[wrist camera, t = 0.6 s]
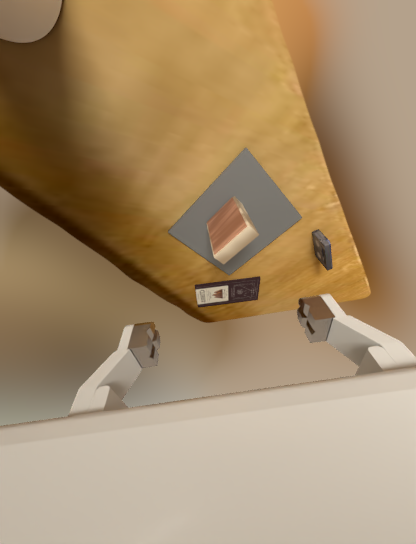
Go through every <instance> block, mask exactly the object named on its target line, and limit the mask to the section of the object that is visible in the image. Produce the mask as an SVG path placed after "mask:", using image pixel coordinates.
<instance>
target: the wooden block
mask: <svg viewBox="0 0 416 544" xmlns="http://www.w3.org/2000/svg"><path fill="white" fill-rule="evenodd" d="M206 224H207V229H208V233H209V238H210V242H211V247H212V251H213V256H214V258H215V259H217V260H218V261H219V262H221V263H222V264H225V263H226V262H227V261H229V260H230V259H231V258H232V257H233V256H235V255H236V254H237V253H238V252H239V251H241V250H242V249H243V248H244V247H245V246H247V245H248V244H249V243H250V242H251V241H253V240H254V239H255V238H256V237H257V236H259V234H258V232H257V230H256V228H255V226H254V225H253V223H252V221H251V219H250V217H249V215H248V214H247V212H246V210H245V208H244V206H243V204H242V203H241V202H240V201H239V200H238V199H237V198H236V197H235V196H234V197H232V198H231V199H230V200H229V201H228V202H227V203H226V204H225V205H224V206H223V207H222V208H221V209H220V210H219V211H218V212H217V213H216V214H215V215H214V216H213V217H212V218H211V219H209V220H208V221H207V223H206Z"/></svg>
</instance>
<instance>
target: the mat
mask: <svg viewBox="0 0 416 544" xmlns="http://www.w3.org/2000/svg"><path fill="white" fill-rule="evenodd" d="M234 196H235V197H236V198H237V199H238V200H239V201H240V202H241V203H242V204H243V206H244V208H245V210H246V212H247V214H248V215H249V217H250V219H251V221H252V223H253V225H254V226H255V228H256V230H257V232H258V234H259V236H257V237H256V238H255V239H254V240H253V241H251V242H250V243H249V244H248V245H247V246H245V247H244V248H243V249H242V250H241V251H239V252H238V253H237V254H236V255H235V256H233V257H232V258H231V259H230V260H229V261H227V262H226V263H225V264H222V263H221V262H219V261H218V260H217V259H215V258H214V256H213V251H212V247H211V242H210V238H209V233H208V229H207V224H206V223H207V221H208V220H209V219H211V218H212V217H213V216H214V215H215V214H216V213H217V212H218V211H219V210H220V209H221V208H222V207H223V206H224V205H225V204H226V203H227V202H228V201H229V200H230V199H231V198H232V197H234ZM301 218H302V217H301V215H300V214H299V213H298V212H297V210H296V209H295V208H294V207H293V205H292V204H291V203H290V202H289V200H288V199H287V198H286V197H285V195H284V194H283V193H282V192H281V190H280V189H279V188H278V187H277V185H276V184H275V183H274V182H273V180H272V179H271V178H270V177H269V175H268V174H267V173H266V172H265V170H264V169H263V168H262V167H261V165H260V164H259V163H258V162H257V160H256V159H255V158H254V157H253V155H252V154H251V153H250V152H249V151H248V149H247V148H245V149H244V150H243V151H242V152H241V153H240V154H239V155H238V156H237V157H236V158H235V159H234V161H233V162H232V163H231V164H230V165H229V166H228V167H227V168H226V169H225V170H224V171H223V172H222V174H221V175H220V176H219V177H218V178H217V179H216V180H215V181H214V182H213V183H212V184H211V185H210V186H209V188H208V189H207V190H206V191H205V192H204V193H203V194H202V195H201V196H200V197H199V198H198V199H197V201H196V202H195V203H194V204H193V205H192V206H191V207H190V208H189V209H188V210H187V211H186V212H185V213H184V215H183V216H182V217H181V218H180V219H179V220H178V221H177V222H176V223H175V224H174V225H173V226H172V228H171V229H170V230H169V231H168V233H170V234H171V235H172V236H174V237H175V238H177V239H178V240H180V241H181V242H182V243H184V244H185V245H187V246H188V247H190V248H191V249H192V250H194V251H195V252H197V253H198V254H200V255H201V256H202V257H204V258H205V259H207V260H208V261H210V262H211V263H212V264H214V265H215V266H217V267H218V268H220V269H221V270H222V271H224V272H225V273H227V274H228V275H230V274H232V273H233V272H234V271H235V270H237V269H238V268H239V267H241V266H242V265H243V264H244V263H246V262H247V261H248V260H249V259H251V258H252V257H253V256H254V255H256V254H257V253H258V252H259V251H261V250H262V249H263V248H265V247H266V246H267V245H268V244H270V243H271V242H272V241H273V240H275V239H276V238H277V237H278V236H280V235H281V234H282V233H283V232H285V231H286V230H287V229H288V228H290V227H291V226H292V225H294V224H295V223H296V222H297V221H299V220H300V219H301Z"/></svg>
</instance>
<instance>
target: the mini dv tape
mask: <svg viewBox="0 0 416 544" xmlns="http://www.w3.org/2000/svg"><path fill="white" fill-rule="evenodd" d="M312 235H313V242H314V249H315V255H316V257H317V258H318V259H319V261H320V262H321V263H322V264H323V266H324V267H325V268H326V269H327V270H330V269H332V256H331V244H330V241H329V240H328V239H327V238H326V237H325V236H324V235H323V234H322V233H321V231H320V230H319V229H318V230H316V231H313V232H312Z"/></svg>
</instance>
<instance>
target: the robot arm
mask: <svg viewBox="0 0 416 544" xmlns="http://www.w3.org/2000/svg"><path fill="white" fill-rule="evenodd" d="M61 3H62V0H0V39H4V40H8V41H12V42H18V43H27V42H33V41H36V40H39V39H41V38H42V37H44V36H45V35H46V34H48V33H49V31H50V30H51V29H52V28H53V26H54V25H55V23H56V21H57V18H58V16H59V13H60V9H61ZM298 304H299V305H300V307H299V308H298V310H297V315H298V319H299V322H300V324H301V326H302V327H304V328H305V334H306V336H307V338H308V340H309V341H310V343H312V342H321V341H327V342H328V343H329V344H330V345H332V346H333V347H334V348H336V349H337V350H338V351H340V352H341V353H342V354H344V355H345V356H346V357H347V358H349V359H350V360H351V361H353V362H354V363H355V364H357V365H358V366H359V368H358V370H357V372H356V374H355V376H348V377H341V378H334V379H328V380H320V381H313V382H306V383H300V384H292V385H285V386H278V387H271V388H264V389H257V390H250V391H243V392H236V393H229V394H222V395H215V396H208V397H202V398H194V399H187V400H180V401H173V402H166V403H159V404H152V405H145V406H138V407H132V408H128V407H127V406H126V405H125V403H124V402H123V401H122V399H123V398H124V396H125V395H126V393H127V391H128V390H129V388H130V387H131V385H132V384H133V383H134V381H135V379H136V378H137V376H138V375H139V373H140V372H141V370H142V368H146V367H152V366H157V364H158V356H159V354H158V352H157V350H158V348H159V347H160V336H159V333H158V331H157V330H155V324H154V322H147V323H140V324H133V325H126V326H125V328H124V330H123V334H122V337H121V340H120V344H119V346H118V350H117V351H115V352H114V353H113V354H112V355H111V356H110V357H109V358H108V359H107V360H106V361H105V362H104V363H103V364H102V365H101V366H100V367H99V368H98V369H97V370H96V371H95V373H94V374H93V375H92V376H91V377H90V378H89V379H88V380H87V381H86V382H85V383H84V384H83V385H82V386H81V387H80V388H79V390H78V393H77V395H76V397H75V400H74V402H73V405H72V407H71V410H70V412H69V415H68V416H67V417H61V418H53V419H46V420H39V421H32V422H25V423H18V424H11V425H3V426H0V544H416V357H415V356H414V355H413V354H412V353H411V352H410V351H409V350H408V349H407V347H406V346H405V345H404V344H403V343H402V342H401V341H399V340H397V339H395V338H393V337H391V336H389V335H387V334H385V333H383V332H381V331H379V330H377V329H375V328H373V327H371V326H369V325H367V324H365V323H363V322H361V321H359V320H357V319H355V318H354V317H352V316H346V314H345V313H344V312H343V310H342V309H341V308H340V307H339V305H338V304H337V303H336V301H335V300H334V299H333V298H332V296H331V295H330V294H323V295H316V296H310V297H305V298H300V299H299V303H298Z"/></svg>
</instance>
